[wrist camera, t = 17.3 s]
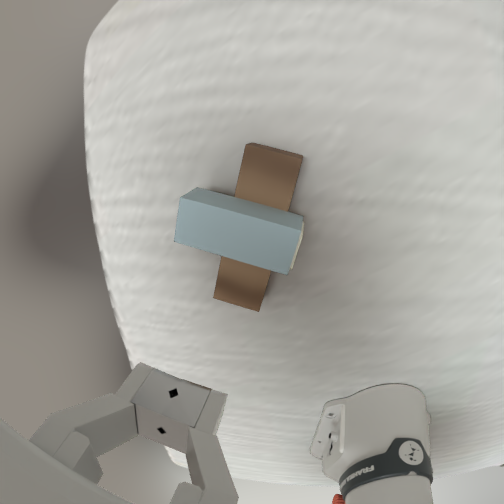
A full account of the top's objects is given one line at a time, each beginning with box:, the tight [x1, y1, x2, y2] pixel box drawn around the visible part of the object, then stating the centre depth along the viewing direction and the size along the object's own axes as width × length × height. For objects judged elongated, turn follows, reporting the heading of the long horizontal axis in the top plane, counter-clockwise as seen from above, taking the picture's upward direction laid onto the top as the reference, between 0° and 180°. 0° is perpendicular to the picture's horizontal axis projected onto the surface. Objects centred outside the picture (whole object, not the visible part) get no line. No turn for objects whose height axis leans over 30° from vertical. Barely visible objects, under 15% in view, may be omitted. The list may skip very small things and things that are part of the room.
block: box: [174, 187, 304, 275], centre depth 27 cm, size 4×4×10 cm
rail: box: [213, 143, 303, 312], centre depth 31 cm, size 16×5×3 cm, turn 167°
